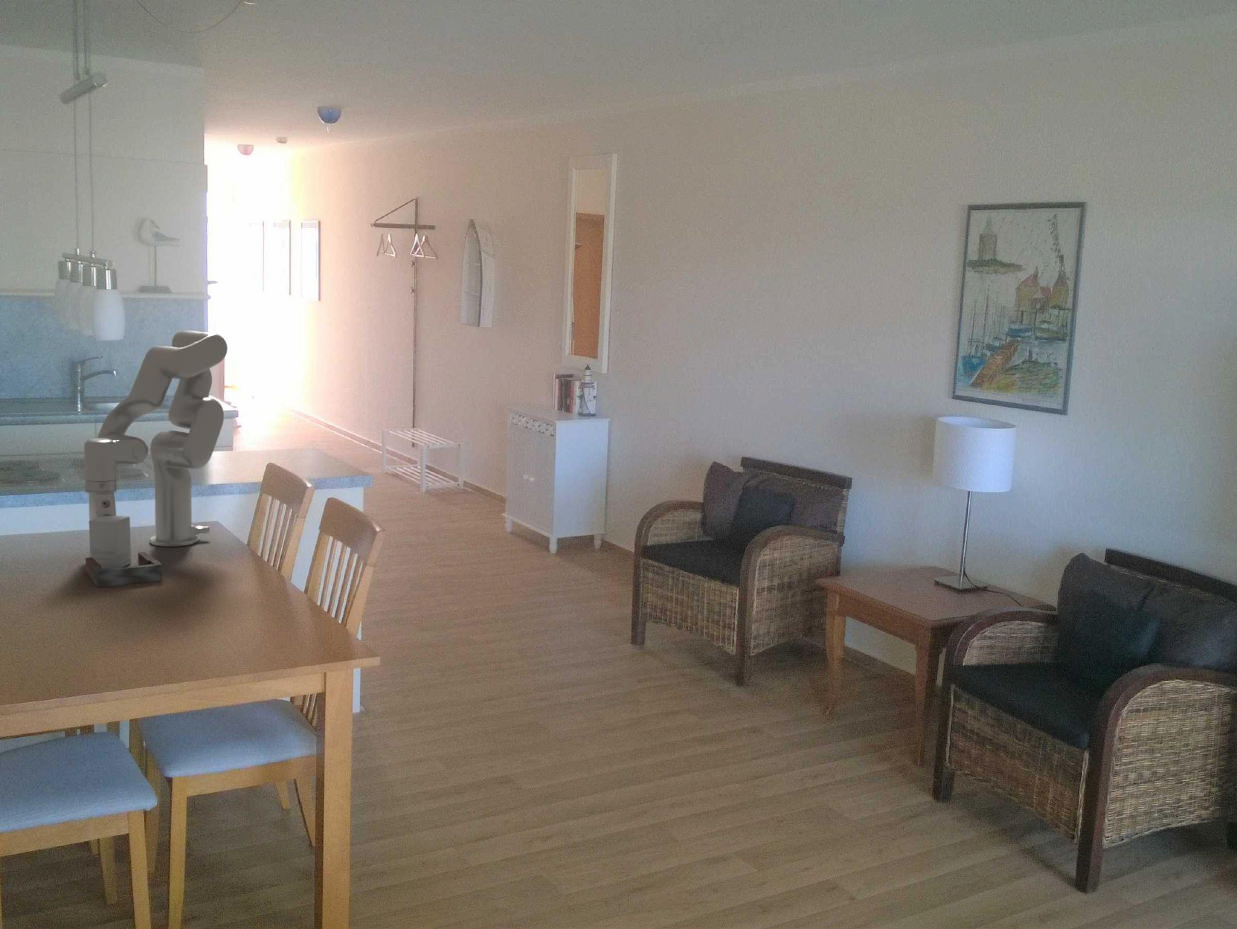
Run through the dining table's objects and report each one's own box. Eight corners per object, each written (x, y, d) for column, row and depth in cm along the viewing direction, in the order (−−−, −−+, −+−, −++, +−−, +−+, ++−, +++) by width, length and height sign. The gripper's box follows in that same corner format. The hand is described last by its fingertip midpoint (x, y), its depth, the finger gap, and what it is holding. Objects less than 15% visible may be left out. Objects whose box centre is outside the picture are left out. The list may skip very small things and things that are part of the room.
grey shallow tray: (146, 566, 292) (146, 551, 291) (162, 580, 281) (162, 564, 280) (84, 573, 283) (83, 558, 282) (98, 587, 272) (97, 571, 271)
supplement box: (132, 563, 294) (131, 516, 292) (116, 570, 287) (115, 522, 285) (105, 561, 295) (104, 513, 293) (89, 568, 288) (88, 520, 285)
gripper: (123, 490, 290) (124, 559, 293) (109, 479, 302) (110, 546, 305) (92, 492, 286) (93, 562, 289) (79, 481, 298) (80, 549, 301)
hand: (102, 553), depth 297 cm, fingers closed
